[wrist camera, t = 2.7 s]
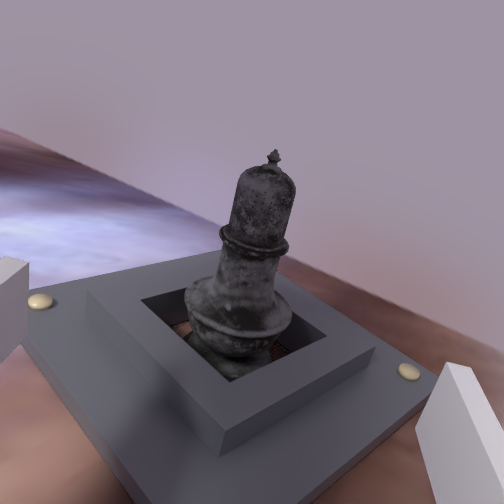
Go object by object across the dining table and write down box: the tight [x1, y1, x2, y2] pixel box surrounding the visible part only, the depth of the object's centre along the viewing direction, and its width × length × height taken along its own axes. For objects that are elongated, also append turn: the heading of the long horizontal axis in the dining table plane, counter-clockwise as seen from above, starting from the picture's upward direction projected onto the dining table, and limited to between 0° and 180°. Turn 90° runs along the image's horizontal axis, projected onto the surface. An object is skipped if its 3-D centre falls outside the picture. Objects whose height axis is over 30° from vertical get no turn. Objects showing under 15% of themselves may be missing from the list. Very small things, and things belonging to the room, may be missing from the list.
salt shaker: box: [183, 149, 296, 383], centre depth 25 cm, size 6×6×12 cm
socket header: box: [21, 250, 439, 504], centre depth 27 cm, size 18×18×2 cm
